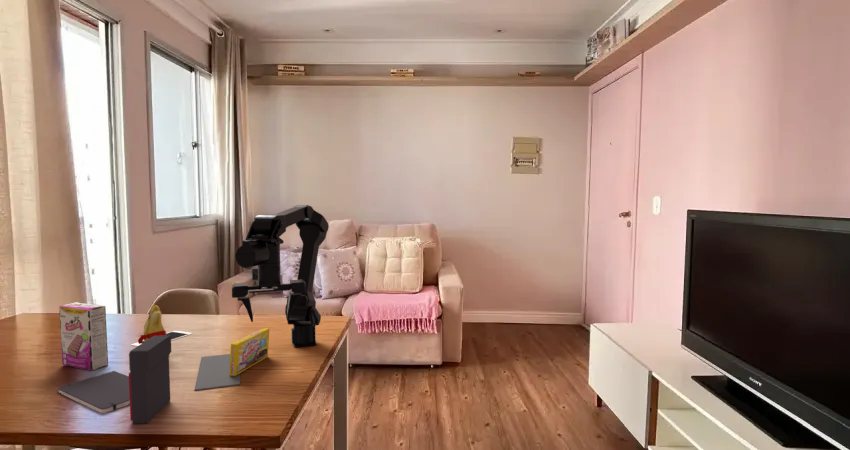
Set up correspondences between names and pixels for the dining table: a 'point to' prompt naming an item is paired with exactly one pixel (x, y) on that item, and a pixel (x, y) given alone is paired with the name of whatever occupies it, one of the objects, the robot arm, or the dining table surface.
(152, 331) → the chocolate bunny
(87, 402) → the notebook
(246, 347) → the candy box
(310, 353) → the dining table surface
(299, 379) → the dining table surface
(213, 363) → the mat
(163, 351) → the dark grey upright slab
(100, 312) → the candy bar box
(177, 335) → the cell phone
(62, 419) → the dining table surface
